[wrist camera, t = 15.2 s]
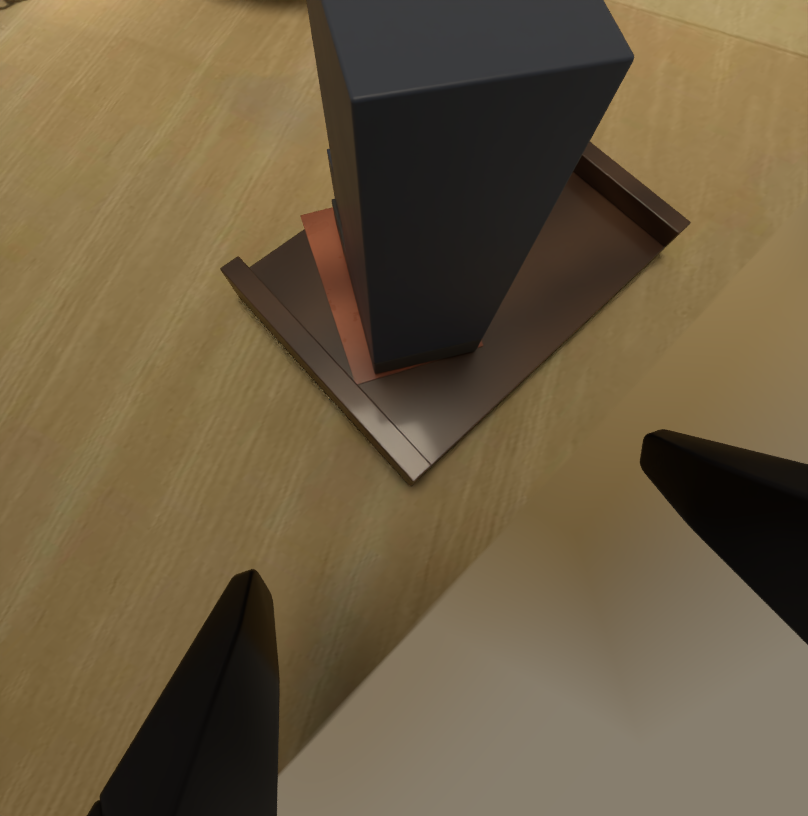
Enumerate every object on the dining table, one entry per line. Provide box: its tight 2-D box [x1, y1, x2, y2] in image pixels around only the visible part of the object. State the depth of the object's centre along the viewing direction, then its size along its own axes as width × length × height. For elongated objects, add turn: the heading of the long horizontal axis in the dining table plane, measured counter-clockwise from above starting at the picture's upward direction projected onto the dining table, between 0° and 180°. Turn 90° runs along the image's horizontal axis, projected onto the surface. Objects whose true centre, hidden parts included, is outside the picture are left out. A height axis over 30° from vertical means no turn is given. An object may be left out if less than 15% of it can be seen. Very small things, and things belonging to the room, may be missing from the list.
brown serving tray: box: [220, 141, 691, 486], centre depth 23 cm, size 16×22×3 cm
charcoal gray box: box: [306, 0, 634, 374], centre depth 15 cm, size 10×6×14 cm, turn 15°
